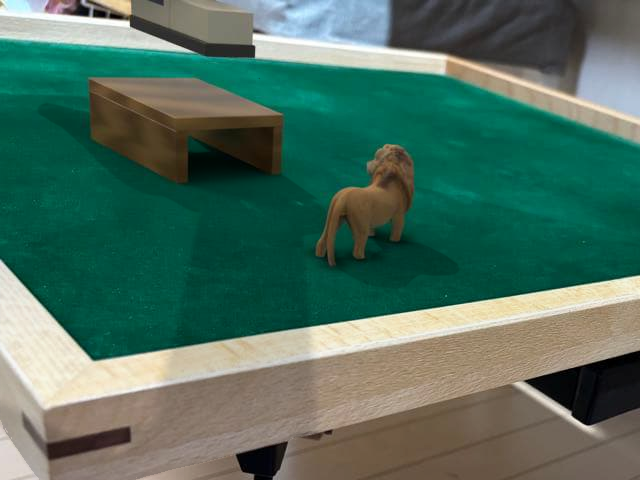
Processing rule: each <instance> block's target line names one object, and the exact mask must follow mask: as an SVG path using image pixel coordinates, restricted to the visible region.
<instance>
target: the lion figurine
mask: <svg viewBox="0 0 640 480" xmlns="http://www.w3.org/2000/svg"><path fill="white" fill-rule="evenodd" d="M414 169H415V167H414V161H413V160H412V157H411V155H410V154H409V153H408V151H406V149H405V148H404V147H402V146H400V145H398V144H389V143H386V144H384V145H383V146H382V148H379V149H377V151H376V152H375V153H374V159H373V160H370V161H367V163H366V171H367V172H366V173H367V174H368V175H369V176H370V180H369V185H368V186H366V187H358V186H348V187H344V188H342V189H340V190H339V191H338V192H337V193H335V195H334V196H333V197H332V200H331V202H330V205H329V209H328V212H327V217H326V222H325V227H324V230H323V232H322V235H321V237H320V238H319V239H318V242H317V243H316V246H315V247H316V248H315V256H316V257H319V258H324V257H325V256H326V251H327V260H328V261H327V262H328V264H329V266H330V267H334V266H337V264H336V260H335V240H336V234H337V233H338V232H339V230H340V229H341V228H342V227H343V225H344V224H345V223H346V224H347V226H348V228H349V229H350V232H351V235H352V239H353V249H352V256H353V257H354V259H357V260H359V259H360V260H362V259H363V260H364V259H365V248H366V244H367V241H368V237H375V236H376V228H379V227H381V226H384V225H386V224H387V223H390V227H391V228H390V229H391V230H390V231H391V232H390V236H389V241H390V242H399V241H400V239H401V238H402V232H403V229H404V225H405V214H406V213H407V212H408V211H409V210H411V209H412V206H413V197H414V196H415V180H414V178H415V172H414Z"/></svg>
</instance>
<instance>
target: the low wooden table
mask: <svg viewBox="0 0 640 480" xmlns="http://www.w3.org/2000/svg"><path fill="white" fill-rule="evenodd" d="M87 81H88V104H89V121H90V122H89V125H90V138H91V140H92V141H94V142H96V143H98V144H100V145H102V146H104V147H106V148H108V149H110V150H112V151H113V152H116V153H118V154H119V155H122V156H123V157H125V158H127V159H129V160H131V161H133V162H135V163H137V164H138V165H141V166H143V167H144V168H147V169H148V170H150V171H153V172H154V173H156V174H158V175H159V176H162V177H164V178H165V179H168V180H169V181H171V182H173V183H175V184H183V183H188V182H189V137H192V138H194V139H195V140H197V141H200V142H201V143H204V144H206V145H209V146H211V147H212V148H215V149H216V150H219V151H220V152H223V153H224V154H228V155H229V156H232V157H234V158H236V159H238V160H240V161H243V162H244V163H246V164H249V165H251V166H252V167H255V168H257V169H259V170H261V171H263V172H266V173H268V174H269V175H281V174H282V161H283V160H282V157H283V138H284V122H285V121H284V119H285V115H284V114H283V113H280V112H278V111H275V110H274V109H271V108H268V107H266V106H263V105H262V104H259V103H256V102H254V101H252V100H249V99H248V98H244V97H243V96H240V95H237V94H235V93H233V92H231V91H227V90H226V89H223V88H221V87H218V86H216V85H214V84H211V83H209V82H206V81H204V80H201V79H199V78H197V77H193V78H192V77H88V80H87Z"/></svg>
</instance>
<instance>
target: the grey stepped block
mask: <svg viewBox="0 0 640 480" xmlns="http://www.w3.org/2000/svg"><path fill="white" fill-rule="evenodd" d="M254 15H255V14H254V12H252V11H249V10H246V9H242V8H240V7H238V6H234V5H231V4H227V3H225V2H222V1H219V0H130V14H129V15H128V17H129V19H128V20H129V28H131V29H134V30H136V31H139V32H141V33H144V34H147V35H150V36H152V37H154V38H157V39H159V40H162V41H165V42H168V43H170V44H172V45H174V46H178V47H180V48H183V49H185V50H188V51H191V52H193V53H195V54H198V55H201V56H204V57H205V58H234V59H235V58H236V59H255V58H256V48H257V47H256V45H255V44H253V40H254Z"/></svg>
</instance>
